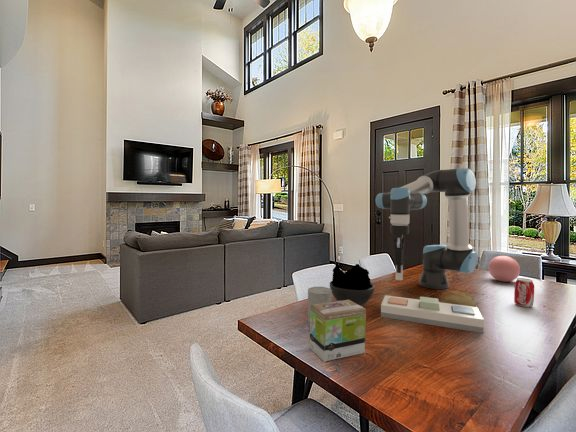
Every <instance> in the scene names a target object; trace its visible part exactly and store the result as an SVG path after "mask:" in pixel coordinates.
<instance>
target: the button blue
mask: <svg viewBox="0 0 576 432" xmlns="http://www.w3.org/2000/svg"><path fill="white" fill-rule="evenodd" d="M452 312H453V313H460V314H467V315H474V312H473V309H472V308H470V307H462V306H455V305H452Z"/></svg>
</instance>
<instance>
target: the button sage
mask: <svg viewBox="0 0 576 432" xmlns="http://www.w3.org/2000/svg"><path fill="white" fill-rule="evenodd" d="M419 300H420V308H424V309H432V310H439V302H440V299H439V298H436V297H429V296H419Z"/></svg>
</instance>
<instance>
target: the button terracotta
mask: <svg viewBox="0 0 576 432" xmlns="http://www.w3.org/2000/svg"><path fill="white" fill-rule="evenodd" d="M388 303H389V304H396V305H403V306H407V299H401V298H394V297H390V299H389V302H388Z"/></svg>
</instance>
